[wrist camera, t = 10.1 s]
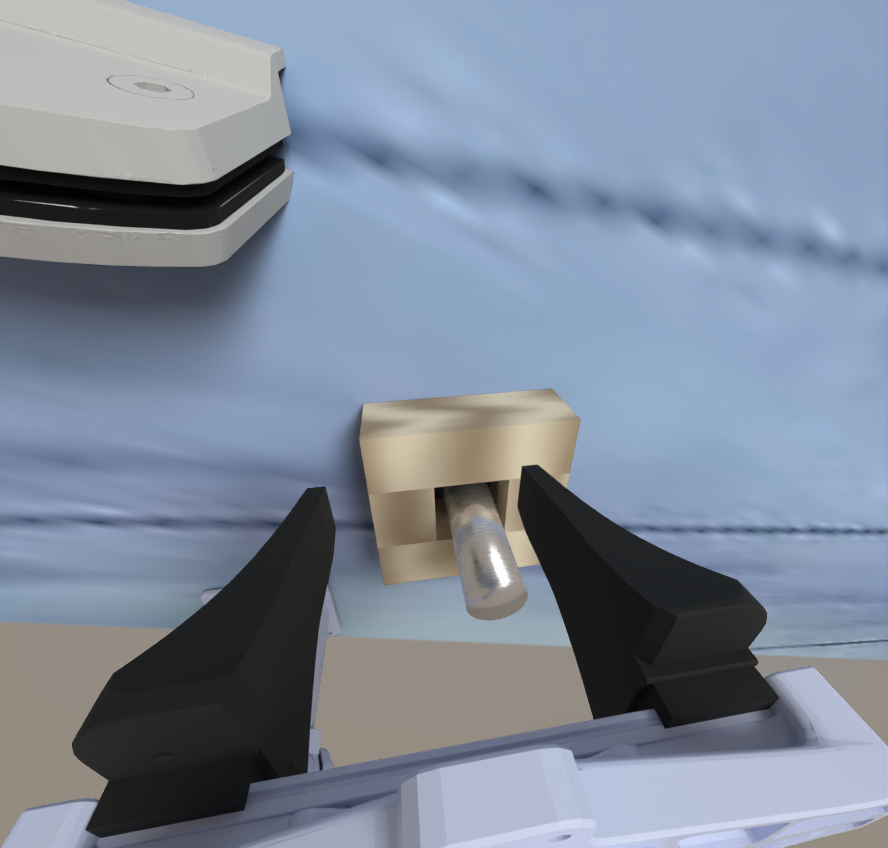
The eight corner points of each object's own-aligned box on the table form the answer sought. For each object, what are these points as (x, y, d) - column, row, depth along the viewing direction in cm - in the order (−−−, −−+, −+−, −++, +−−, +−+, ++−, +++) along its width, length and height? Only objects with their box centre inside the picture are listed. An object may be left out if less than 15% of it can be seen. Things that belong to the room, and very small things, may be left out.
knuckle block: (384, 539, 28) (384, 585, 25) (363, 403, 22) (359, 439, 18) (532, 521, 29) (551, 562, 26) (552, 388, 23) (580, 419, 20)
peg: (441, 490, 26) (467, 624, 18) (437, 457, 25) (464, 587, 16) (481, 484, 27) (526, 614, 18) (480, 451, 25) (529, 576, 16)
